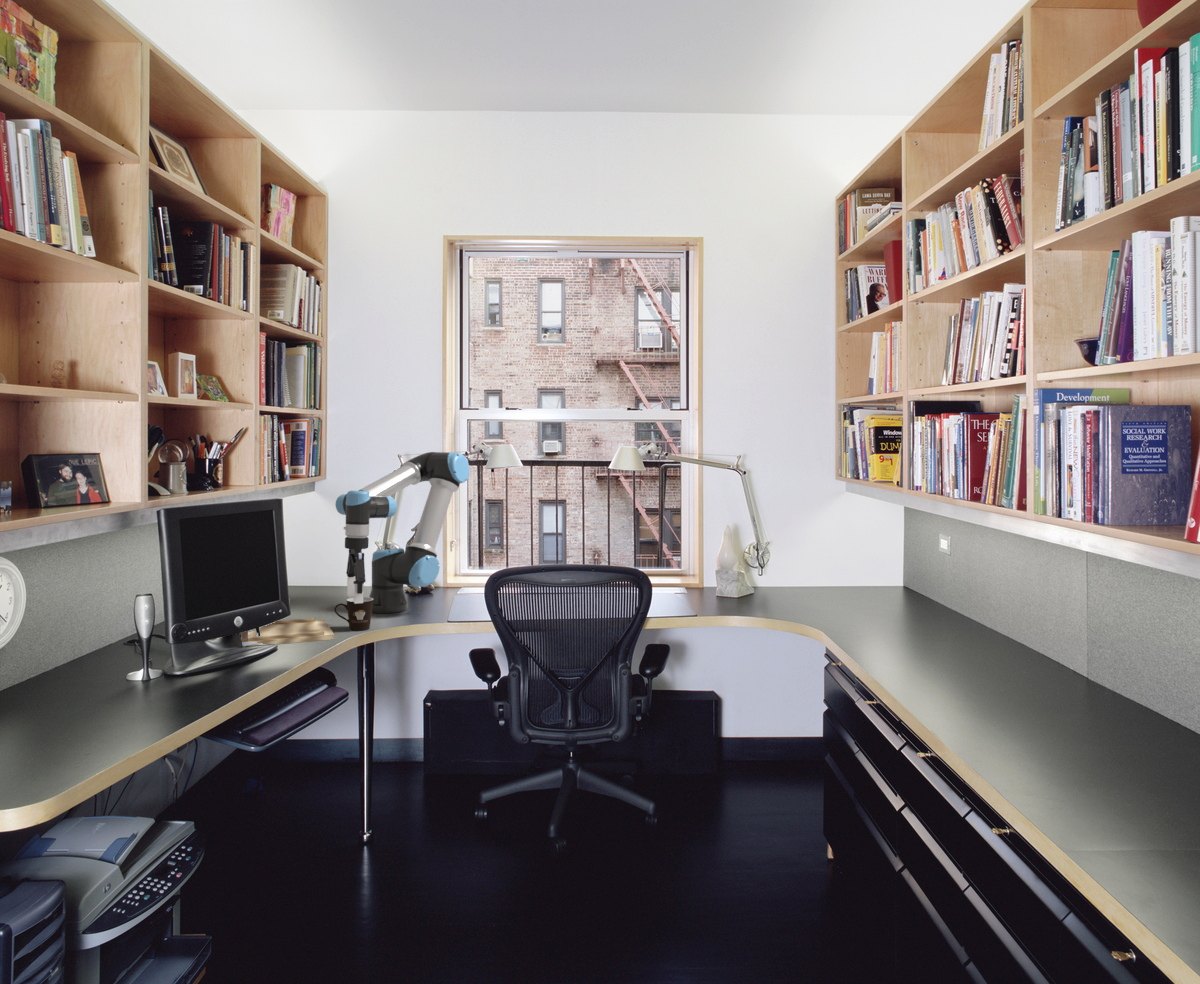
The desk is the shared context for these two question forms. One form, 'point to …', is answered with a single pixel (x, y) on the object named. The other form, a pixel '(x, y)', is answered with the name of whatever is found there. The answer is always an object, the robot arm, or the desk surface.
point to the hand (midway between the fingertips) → (354, 599)
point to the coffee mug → (358, 613)
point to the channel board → (291, 632)
